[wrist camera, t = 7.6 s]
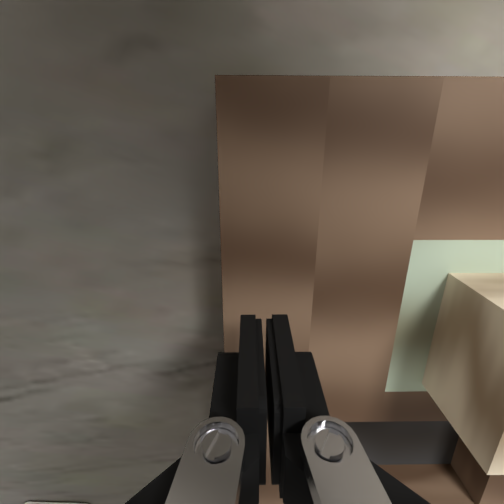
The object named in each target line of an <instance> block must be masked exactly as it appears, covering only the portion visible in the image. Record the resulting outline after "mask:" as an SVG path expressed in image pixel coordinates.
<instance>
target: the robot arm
mask: <svg viewBox="0 0 504 504" xmlns="http://www.w3.org/2000/svg"><path fill="white" fill-rule="evenodd" d="M267 421H268V437H269V453H270V468H271V483H272V485H279V495H280V498H283V503H284V504H431V503H429V502H428V501H426V500H425V499H424V498H422V497H421V496H419V495H418V494H417V493H415V492H414V491H413V490H411V489H410V488H408V487H407V486H406V485H404V484H403V483H401V482H400V481H399V480H397V479H396V478H395V477H393V476H392V475H390V474H389V473H388V472H386V471H385V470H383V469H382V468H381V467H379V466H378V465H376V464H375V463H374V462H372V461H371V460H370V459H369V458H368V456H367V454H366V452H365V450H364V448H363V447H362V445H361V443H360V441H359V439H358V437H357V435H356V434H355V432H354V431H353V429H352V428H351V427H350V426H349V425H347V424H346V423H345V422H343V421H342V420H340V419H338V418H335V417H331V416H330V415H329V411H328V408H327V404H326V401H325V397H324V394H323V390H322V386H321V383H320V379H319V376H318V372H317V369H316V365H315V361H314V358H313V355H312V353H311V352H295V349H294V344H293V339H292V334H291V329H290V325H289V320H288V315H287V314H272V318H271V319H266V352H265V363H264V348H263V333H262V319H256V315H241V316H240V338H239V352H219V353H218V357H217V364H216V371H215V379H214V386H213V393H212V401H211V408H210V415H209V419H206V420H204V421H202V422H201V423H199V424H198V425H197V426H196V427H195V428H194V429H193V430H192V432H191V434H190V436H189V438H188V440H187V443H186V446H185V449H184V452H183V454H182V457H181V458H179V459H178V460H177V461H176V462H175V463H173V464H172V465H171V466H170V467H169V468H167V469H166V470H165V471H164V472H162V473H161V474H160V475H159V476H158V477H156V478H155V479H154V480H153V481H152V482H150V483H149V484H148V485H147V486H146V487H144V488H143V489H142V490H141V491H140V492H138V493H137V494H136V495H135V496H133V497H132V498H131V499H130V500H129V501H127V502H126V503H125V504H259V485H266V451H267Z"/></svg>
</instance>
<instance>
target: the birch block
mask: <svg viewBox="0 0 504 504" xmlns="http://www.w3.org/2000/svg"><path fill="white" fill-rule="evenodd" d="M422 385H423V386H424V387H425V389H426V390H427V392H428V393H429V394H430V396H431V397H432V399H433V400H434V401H435V403H436V404H437V406H438V407H439V408H440V410H441V411H442V413H443V414H444V415H445V417H446V418H447V420H448V421H449V422H450V424H451V425H452V427H453V428H454V430H455V431H456V432H457V434H458V435H459V437H460V438H461V439H462V441H463V442H464V444H465V445H466V446H467V448H468V449H469V451H470V452H471V453H472V455H473V456H474V458H475V459H476V460H477V462H478V463H479V465H480V466H481V467H482V469H483V470H484V472H485V473H486V474H487V475H504V273H448V277H447V281H446V285H445V289H444V293H443V297H442V301H441V306H440V310H439V314H438V318H437V322H436V326H435V330H434V334H433V339H432V343H431V347H430V351H429V355H428V359H427V363H426V367H425V372H424V376H423V380H422Z"/></svg>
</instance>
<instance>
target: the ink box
mask: <svg viewBox="0 0 504 504" xmlns="http://www.w3.org/2000/svg"><path fill="white" fill-rule="evenodd" d="M24 504H89V503H59V502H31V501H28V502H26V503H24Z"/></svg>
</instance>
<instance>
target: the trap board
mask: <svg viewBox="0 0 504 504" xmlns="http://www.w3.org/2000/svg"><path fill="white" fill-rule="evenodd" d="M215 90H216V120H217V150H218V180H219V209H220V239H221V269H222V299H223V329H224V352H239V338H240V316H241V315H256V319H262V333H263V348H264V363H265V352H266V319H271V318H272V314H287V315H288V320H289V325H290V329H291V334H292V339H293V344H294V349H295V352H311V353H312V355H313V358H314V361H315V365H316V369H317V372H318V376H319V379H320V383H321V386H322V390H323V394H324V397H325V401H326V404H327V408H328V411H329V415H330V416H331V417H335V418H338V419H340V420H342V421H343V422H345V423H346V424H347V425H349V426H350V427H351V428H352V429H353V431H354V432H355V434H356V435H357V437H358V439H359V441H360V443H361V445H362V447H363V448H364V450H365V452H366V454H367V456H368V458H369V459H370V460H371V461H372V462H374V463H375V464H376V465H378V466H379V467H381V468H382V469H383V470H385V471H386V472H388V473H389V474H390V475H392V476H393V477H395V478H396V479H397V480H399V481H400V482H401V483H403V484H404V485H406V486H407V487H408V488H410V489H411V490H413V491H414V492H415V493H417V494H418V495H419V496H421V497H422V498H424V499H425V500H426V501H428V502H429V503H431V504H504V475H487V474H486V473H485V472H484V470H483V469H482V467H481V466H480V465H479V463H478V462H477V460H476V459H475V458H474V456H473V455H472V453H471V452H470V451H469V449H468V448H467V446H466V445H465V444H464V442H463V441H462V439H461V438H460V437H459V435H458V434H457V432H456V431H455V430H454V428H453V427H452V425H451V424H450V422H449V421H448V420H447V418H446V417H445V415H444V414H443V413H442V411H441V410H440V408H439V407H438V406H437V404H436V403H435V401H434V400H433V399H432V397H431V396H430V394H429V393H428V392H427V390H426V389H425V387H424V386H423V385H422V380H423V376H424V372H425V367H426V363H427V359H428V355H429V351H430V347H431V343H432V339H433V334H434V330H435V326H436V322H437V318H438V314H439V310H440V306H441V301H442V297H443V293H444V289H445V285H446V281H447V277H448V273H504V77H461V76H280V75H215ZM259 504H284V503H283V498H280V495H279V485H272V483H271V468H270V453H269V437H268V421H267V451H266V485H259Z"/></svg>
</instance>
